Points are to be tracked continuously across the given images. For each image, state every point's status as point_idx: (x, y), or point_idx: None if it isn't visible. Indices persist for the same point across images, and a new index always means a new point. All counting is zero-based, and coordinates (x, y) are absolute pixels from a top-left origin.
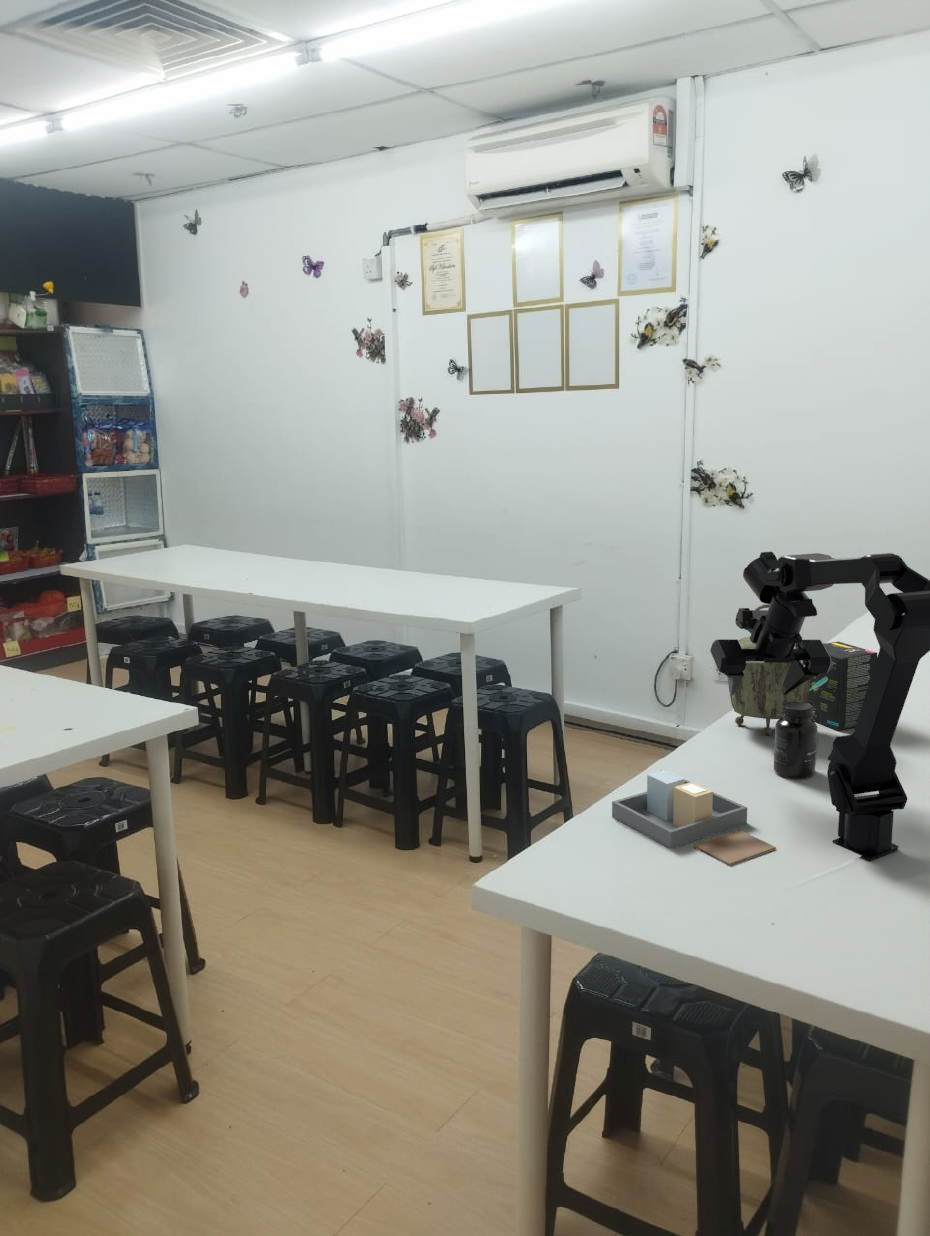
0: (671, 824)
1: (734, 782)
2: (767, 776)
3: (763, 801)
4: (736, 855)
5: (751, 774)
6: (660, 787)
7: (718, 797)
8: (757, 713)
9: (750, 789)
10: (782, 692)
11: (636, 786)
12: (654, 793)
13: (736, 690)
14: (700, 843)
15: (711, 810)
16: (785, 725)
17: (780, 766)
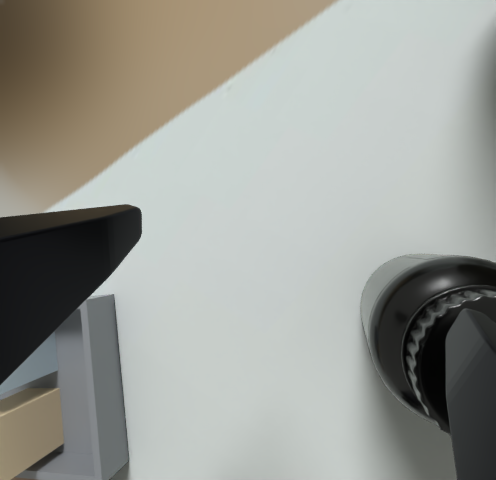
0: (25, 386)
1: (240, 282)
2: (333, 292)
3: (227, 396)
4: None
5: (306, 262)
6: None
7: (90, 407)
8: None
9: (245, 332)
10: (453, 330)
11: (71, 204)
12: None
13: (103, 281)
14: (16, 478)
15: (29, 465)
16: (383, 357)
17: (361, 316)
